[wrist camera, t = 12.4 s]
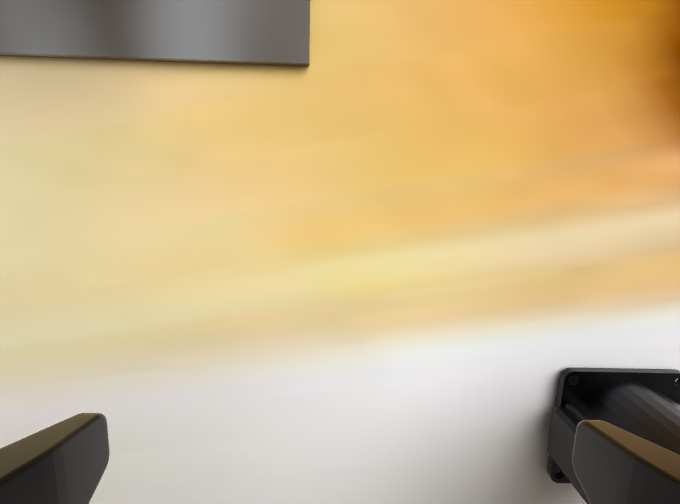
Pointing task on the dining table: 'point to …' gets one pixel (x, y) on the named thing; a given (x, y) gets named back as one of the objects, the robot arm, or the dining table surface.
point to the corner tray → (159, 30)
